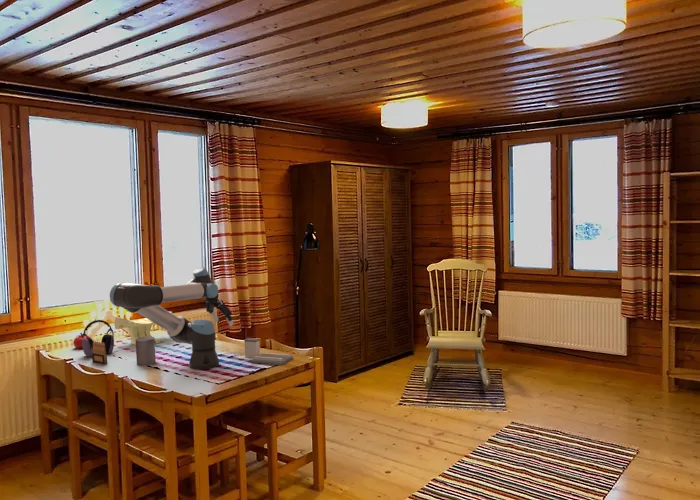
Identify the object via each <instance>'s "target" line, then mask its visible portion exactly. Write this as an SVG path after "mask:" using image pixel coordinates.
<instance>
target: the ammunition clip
mask: <svg viewBox="0 0 700 500" xmlns="http://www.w3.org/2000/svg"><path fill="white" fill-rule="evenodd" d="M107 354H108V353H107V352H106V349H105V344H104V342H103V343H102V342H101V341H100V340H99V341H98V340H93V353H92V356H91V357H92V363H95V364H98V365H99V364H100V365H108V355H107Z"/></svg>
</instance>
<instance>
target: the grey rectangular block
mask: <svg viewBox="0 0 700 500" xmlns="http://www.w3.org/2000/svg"><path fill="white" fill-rule="evenodd" d="M260 347H261V346H260V338H254V337H247V338H245V339H244V357H245V358H247V359H254V357H255V356H261V350H260V349H261V348H260Z"/></svg>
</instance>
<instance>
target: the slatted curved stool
mask: <svg viewBox="0 0 700 500" xmlns="http://www.w3.org/2000/svg"><path fill="white" fill-rule="evenodd" d="M168 311H169V310H168ZM169 312H170V313H172V314H173V311H169ZM153 325H156V324H155V323H154V322H152V321H150V320H149V319H147V318H145V317H144V318H142V319H138V320H128V319H126V318H123V317H122V318H121V317H118V316H117V317H115V318H114V329H115V330H121V329H125V328H127V330H128V332H129V336H130V344H133V345H135V346H136V338H139V337H145V336H152V334H151V329H152V327H153ZM154 340H155V344H160V343H162V342H161V340H160V339H159V338H156V337H155V338H154Z"/></svg>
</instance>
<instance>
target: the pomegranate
mask: <svg viewBox="0 0 700 500" xmlns="http://www.w3.org/2000/svg"><path fill="white" fill-rule="evenodd" d="M79 334H80V335H76V336H75V338H74V340H73V342H72V343H73V346H74V348H75V349H78V350H83V347H82V340H83V339H85V338H86V339H87V337H86V336H85V335H84V336H83V339H82V334H83V332H80V333H79ZM87 336H88V338H91V336H89V335H87ZM91 339H92V338H91Z"/></svg>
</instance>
